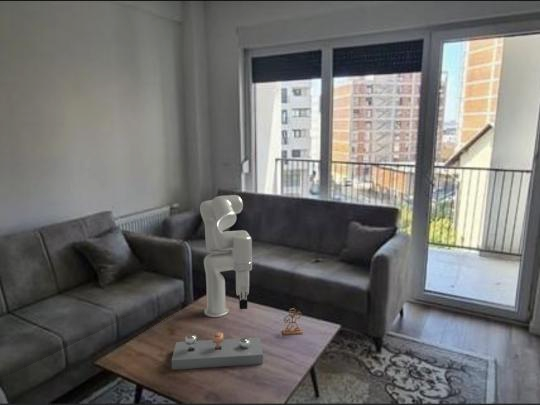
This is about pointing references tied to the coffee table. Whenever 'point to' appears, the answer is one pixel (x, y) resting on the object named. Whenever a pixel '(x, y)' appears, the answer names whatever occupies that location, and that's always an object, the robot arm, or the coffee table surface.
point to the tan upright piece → (295, 330)
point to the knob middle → (217, 339)
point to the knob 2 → (244, 343)
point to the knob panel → (216, 354)
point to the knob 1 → (190, 340)
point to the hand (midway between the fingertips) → (243, 308)
